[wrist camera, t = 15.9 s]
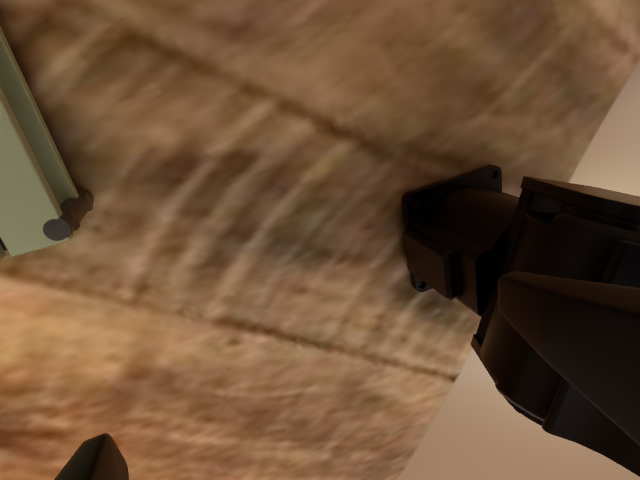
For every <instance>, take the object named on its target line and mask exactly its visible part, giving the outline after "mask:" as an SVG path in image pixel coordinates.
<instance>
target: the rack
mask: <svg viewBox="0 0 640 480" xmlns="http://www.w3.org/2000/svg"><path fill="white" fill-rule="evenodd" d="M93 202H94V199H93V196H92V194H91V193H90V192H88V191H86V190H82V189H80V190H76V188H75V186H74V184H73V182H72V180H71V178H70V175H69V173H68V171H67V169H66V167H65V165H64V163H63V160H62V158H61V156H60V154H59V152H58V150H57V147H56V145H55V143H54V141H53V139H52V137H51V135H50V132H49V130H48V128H47V126H46V124H45V122H44V120H43V117H42V115H41V113H40V111H39V109H38V107H37V104H36V102H35V100H34V98H33V96H32V94H31V92H30V89H29V87H28V85H27V83H26V81H25V79H24V76H23V74H22V72H21V70H20V68H19V66H18V64H17V61H16V59H15V57H14V55H13V53H12V51H11V48H10V46H9V44H8V42H7V40H6V38H5V36H4V33H3V31H2V29H1V27H0V260H1V259H2V258H3V257H4V256H5V255H6V253H5V250H8V252H9V253H10V255H11V256H12V257H14V256H18V255H21V254H25V253H28V252H32V251H35V250H39V249H42V248H46V247H49V246H53V245H56V244H60V243H63V242H66V241H69V240H70V239H71V238H72V236H73V231H75V230H78V228H79V227H80V224H79V223H80V221H81V220H82V219H83V217H84V216H85V214H86V213H87V212H88V211H90V210H92V208H93Z"/></svg>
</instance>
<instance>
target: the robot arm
mask: <svg viewBox="0 0 640 480" xmlns="http://www.w3.org/2000/svg"><path fill="white" fill-rule="evenodd" d="M492 172H494V173H493V176H492V177H491V174H492ZM520 188H522V192H521V195H520V198H519V197H516V196H513V195H509V194H506V193H503V192H502V172H501V169H500V167H498V166H494V165H490V166H486V167H483V168H480V169H477V170H474V171H471V172H468V173H464V174H461V175H458V176H455V177H452V178H449V179H446V180H442V181H439V182H436V183H433V184H430V185H427V186H424V187H420V188H417V189H414V190H411V191H408V192H406V193H405V194H404V195H403V198H402V207H403V215H404V223H405V230H404V233H403V236H404V243H405V251H406V258H407V266H408V270H410V271H411V277H412V285H413V287H414V288H415V289H416V290H417V291H419V292H424V291H427V290H429V289H432V288H433V289H435V290H436V291H437V292H439V293H440V294H441V295H443V296H444V297H445V298H447V299H449V300H453V299H455V298H456V299H457V300H459V301H460V302H461V303H463V304H464V305H465V306H467V307H468V308H469V309H471V310H472V311H474V312H475V313H476V314H478V315H479V316H482V317H481V320H480V323H479V327H478V330H477V333H476V334H474V335H473V338H472V341H471V346H472V347H473V349H474V351H475V352H476V354H477V355H478V357H479V358H480V360H481V362H482V363H483V365H484V366H485V368H486V370H487V371H488V373H489V374H490V376H491V377H492V379H493V380H494V382H495V386H496V388H497V389H498V391H499V392H500V394H502V395H503V396H504V398H505V399H506V400H507V401H508V403H510V405H512V406H513V407H514V409H515V410H516V411H517V412H519V413H521V414H523V415H524V416H525V417H527V418H528V419H530V420H532V421H534V422H536V423H537V424H539V425H541V426H542V428H543V429H544V430H545V431H546V432H548V433H550V434H553V435H556V436H559V437H562V438H565V439H568V440H570V441H573V442H576V443H579V444H581V445H583V446H585V447H587V448H589V449H591V450H593V451H596V452H598V453H600V454H602V455H604V456H606V457H608V458H609V459H611V460H613V461H614V462H616V463H618V464H620V465H622V466H623V467H625V468H626V469H628V470H630V471H631V472H633V473H635V474H636V475H638V476H639V477H640V197H639V196H634V195H629V194H625V193H620V192H615V191H611V190H606V189H601V188H596V187H590V186H584V185H578V184H571V183H565V182H559V181H553V180H546V179H540V178H534V177H527V176H524V177H523V180H522V184H521V187H520ZM412 197H413V198H414V199H413V202H412V203H411V204H410V203H409V200H410V199H411V198H412ZM422 281H423V283H422V285H420V283H421V282H422ZM419 285H420V286H419ZM54 480H129V475H128V467H127V464H126V461H125V459H124V458H123V456H122V454H121V452H120V451H119V449H118V447H117V445H116V444H115V442H114V440H113V439H112V437H111V436H110V435H109V434H106V433H104V434H101V435H98V436H96V437H93V438H91V439H88V440H86V441H85V442H83V443H82V445H81V446H80V447H79V448H78V450H77V451H76V452H75V453H74V455H73V456H72V457H71V459H70V460H69V461H68V463H67V464H66V465H65V466H64V468H63V469H62V470H61V472H60V473H59V474H58V475H57V477H56V478H55V479H54Z"/></svg>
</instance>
